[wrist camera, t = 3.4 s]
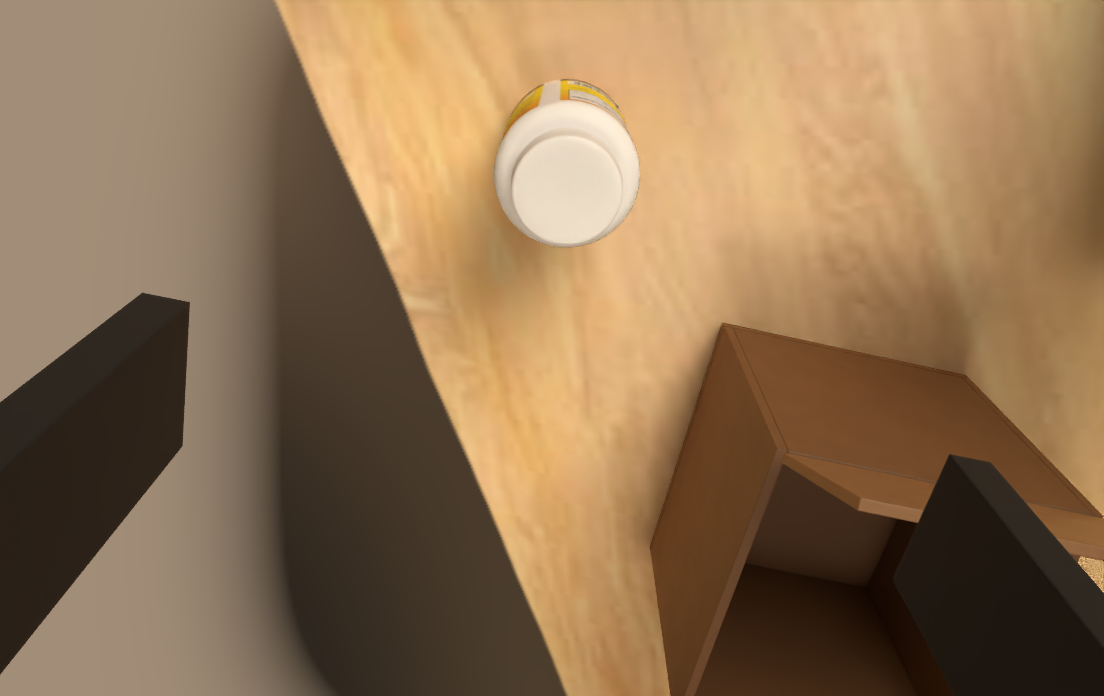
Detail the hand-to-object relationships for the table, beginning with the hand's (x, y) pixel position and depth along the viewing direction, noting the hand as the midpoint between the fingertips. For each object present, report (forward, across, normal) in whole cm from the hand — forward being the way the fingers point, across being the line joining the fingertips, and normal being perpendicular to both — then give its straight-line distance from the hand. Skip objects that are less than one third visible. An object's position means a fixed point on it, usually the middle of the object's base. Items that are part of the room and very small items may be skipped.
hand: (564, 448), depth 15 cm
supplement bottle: (+28, 0, 0) cm, 28 cm away
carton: (+27, +16, -14) cm, 35 cm away
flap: (+11, +16, -6) cm, 20 cm away
